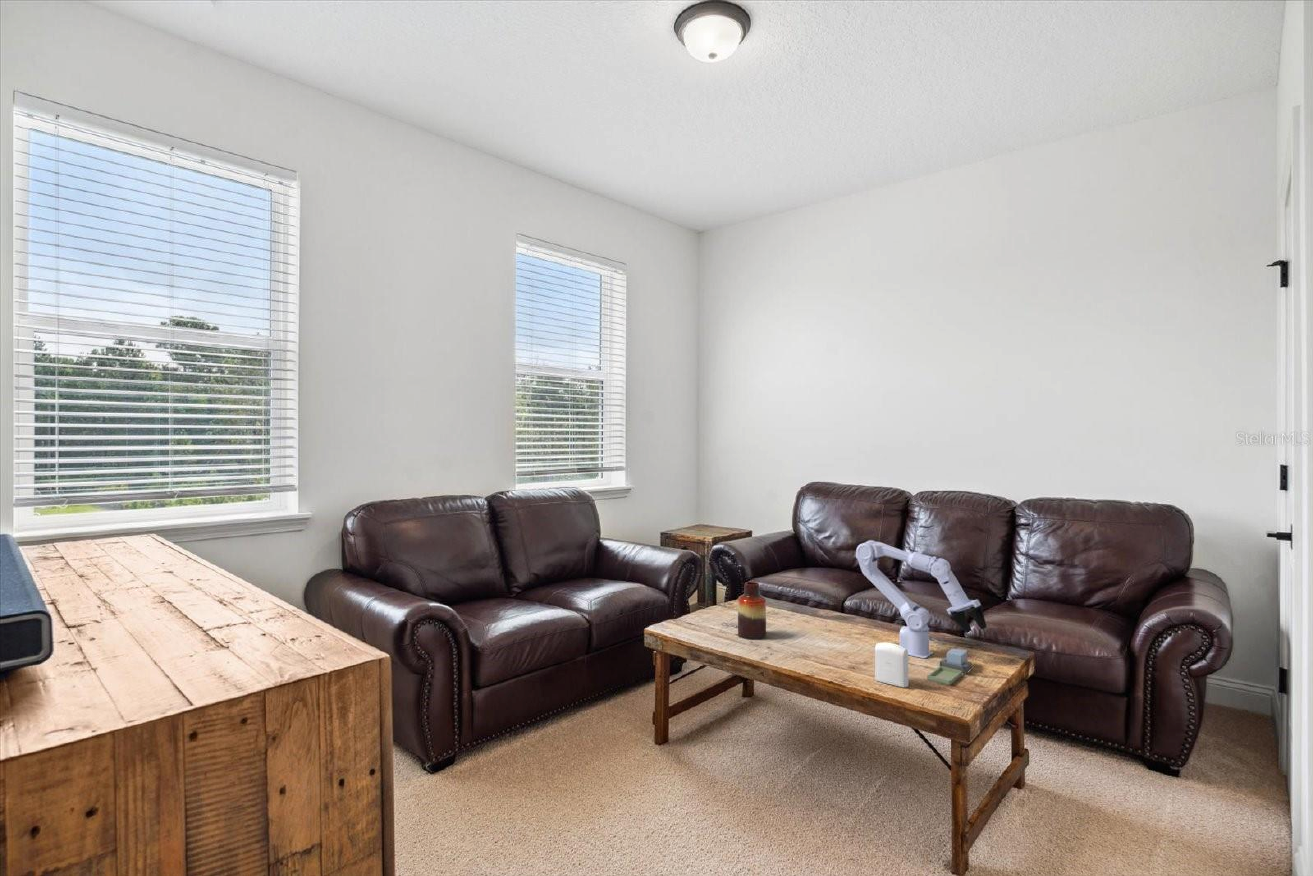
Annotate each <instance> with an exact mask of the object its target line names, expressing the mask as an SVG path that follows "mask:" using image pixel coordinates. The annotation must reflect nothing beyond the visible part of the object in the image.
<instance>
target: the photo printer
mask: <svg viewBox="0 0 1313 876" xmlns="http://www.w3.org/2000/svg"><path fill="white" fill-rule="evenodd" d="M874 679H875V681H876V682H880V683H884V684H888V685H891V686H896V687H900V688H903V689H904V688H908V687H909V655H908V651H907V649H905V648H904V647H902V646H899V644H897V643H893V642H885V641H884V642H877V643H876V644H875V647H874Z"/></svg>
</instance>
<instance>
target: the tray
mask: <svg viewBox="0 0 1313 876" xmlns="http://www.w3.org/2000/svg"><path fill="white" fill-rule="evenodd" d="M962 676H963V674H962V671H960V670H956V669H951V668H947V667H942V666H940V665H939V666H938V667H937V668H935V669H934V670H932V671H931V672H930V673H928V674H927V676H926V681H929V682H933V683H936V682H938V683H937V684H941V685H945V686H950V687H951V686H952V685H953V684H954V683H956V682H957V681H958V680H959V679H961V677H962ZM958 678H959V679H958ZM957 679H958V680H957ZM956 680H957V681H956ZM953 682H954V683H953Z"/></svg>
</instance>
